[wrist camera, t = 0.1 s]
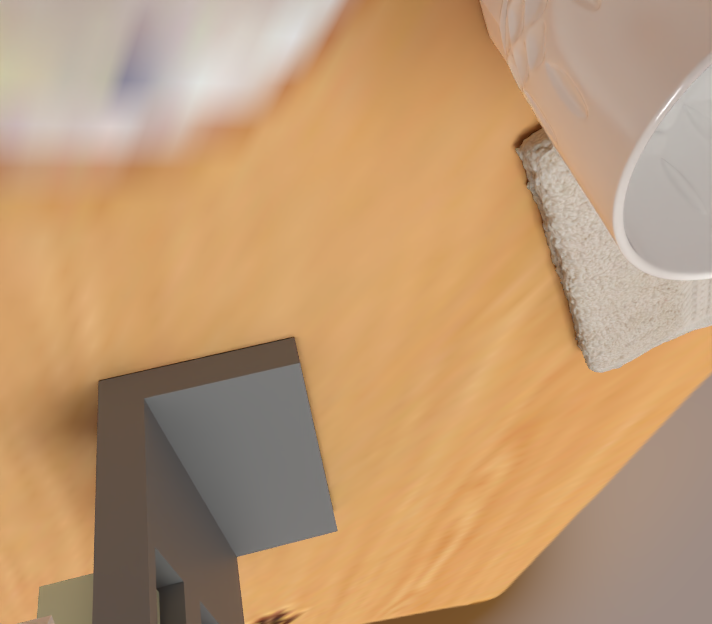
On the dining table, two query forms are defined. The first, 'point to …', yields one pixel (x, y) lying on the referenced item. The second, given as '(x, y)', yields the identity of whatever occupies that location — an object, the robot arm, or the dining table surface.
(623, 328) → the washcloth
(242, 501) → the button panel
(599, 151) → the white cup
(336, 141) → the dining table surface
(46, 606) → the sage button
